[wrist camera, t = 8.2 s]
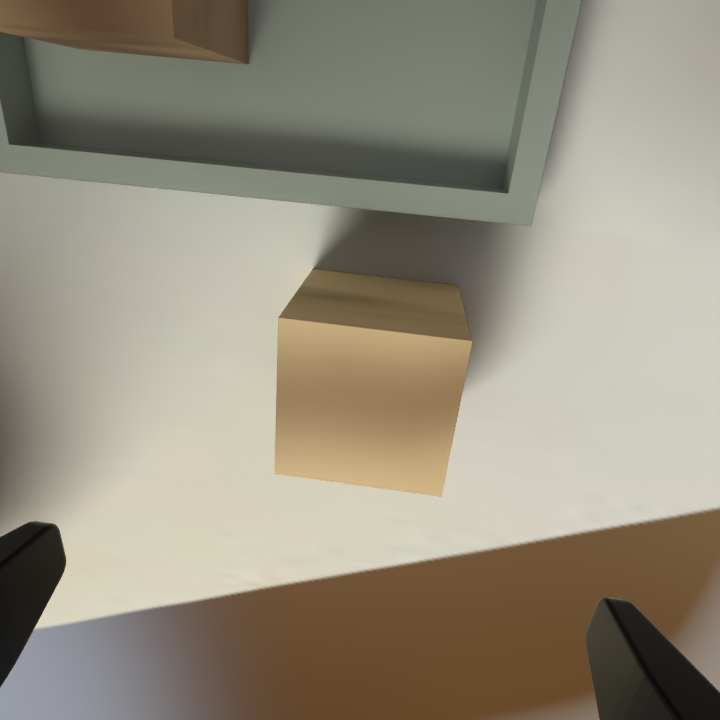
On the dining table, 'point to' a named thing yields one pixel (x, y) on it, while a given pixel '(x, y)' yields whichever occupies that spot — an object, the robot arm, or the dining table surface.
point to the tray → (311, 108)
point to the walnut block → (136, 26)
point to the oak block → (370, 381)
